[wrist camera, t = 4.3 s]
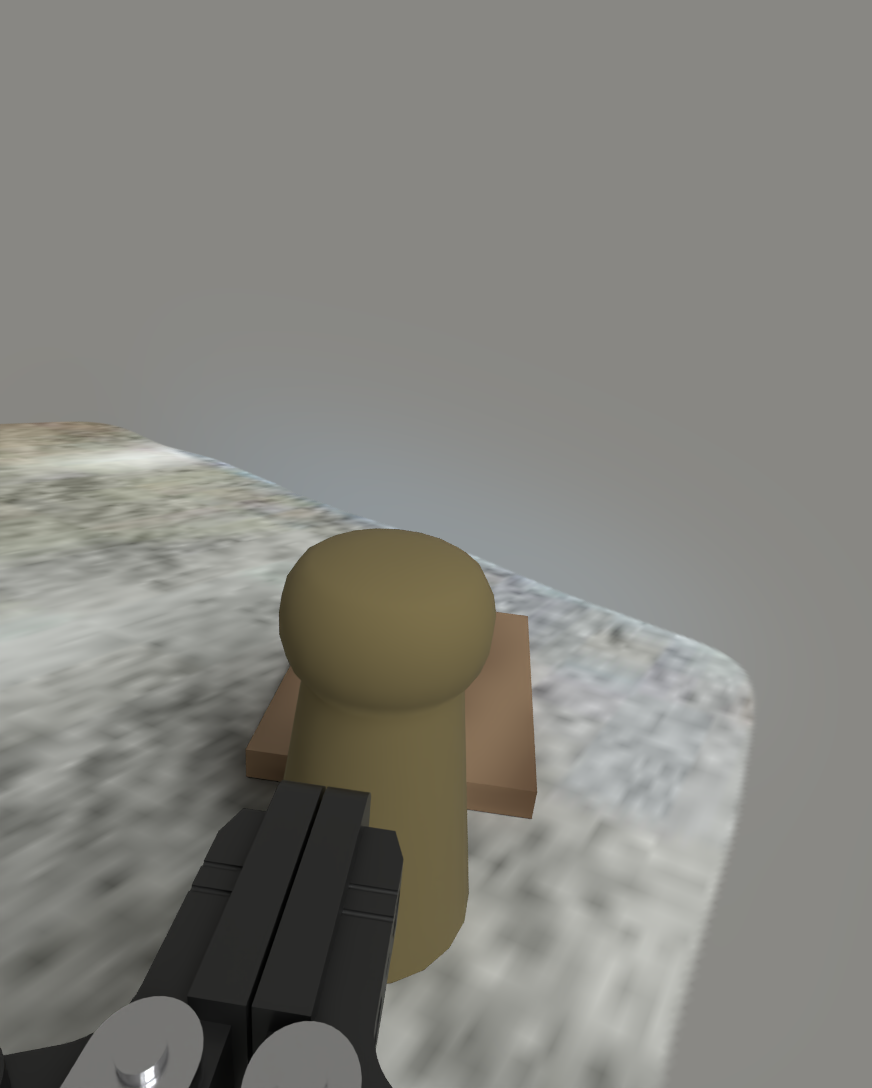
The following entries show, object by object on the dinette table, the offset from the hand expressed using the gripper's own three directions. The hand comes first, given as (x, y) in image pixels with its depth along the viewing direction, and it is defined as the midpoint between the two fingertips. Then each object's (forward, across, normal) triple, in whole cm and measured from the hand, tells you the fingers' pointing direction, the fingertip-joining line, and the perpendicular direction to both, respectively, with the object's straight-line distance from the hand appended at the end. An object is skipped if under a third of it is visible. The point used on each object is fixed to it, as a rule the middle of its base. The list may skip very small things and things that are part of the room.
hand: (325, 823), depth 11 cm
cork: (+6, 0, +9) cm, 10 cm away
